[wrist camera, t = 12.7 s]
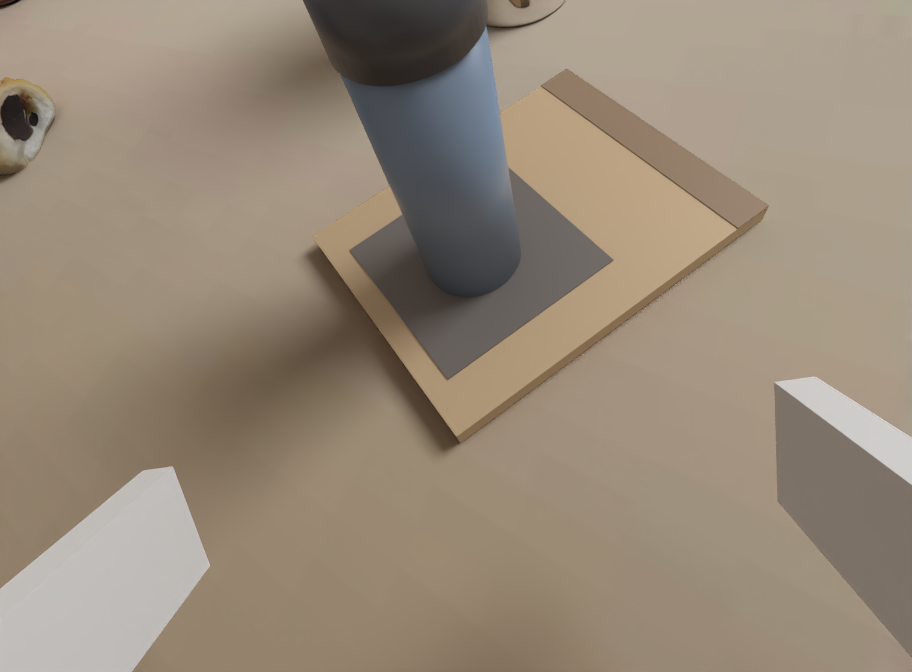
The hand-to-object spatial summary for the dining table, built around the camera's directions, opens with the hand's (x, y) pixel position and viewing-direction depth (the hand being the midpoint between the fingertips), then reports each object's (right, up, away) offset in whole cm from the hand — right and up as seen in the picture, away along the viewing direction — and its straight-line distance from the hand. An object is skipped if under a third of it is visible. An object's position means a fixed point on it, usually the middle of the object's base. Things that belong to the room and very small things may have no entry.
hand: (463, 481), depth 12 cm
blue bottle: (+1, +7, +11) cm, 13 cm away
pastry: (-30, +15, +24) cm, 41 cm away
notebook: (+3, +8, +12) cm, 14 cm away
